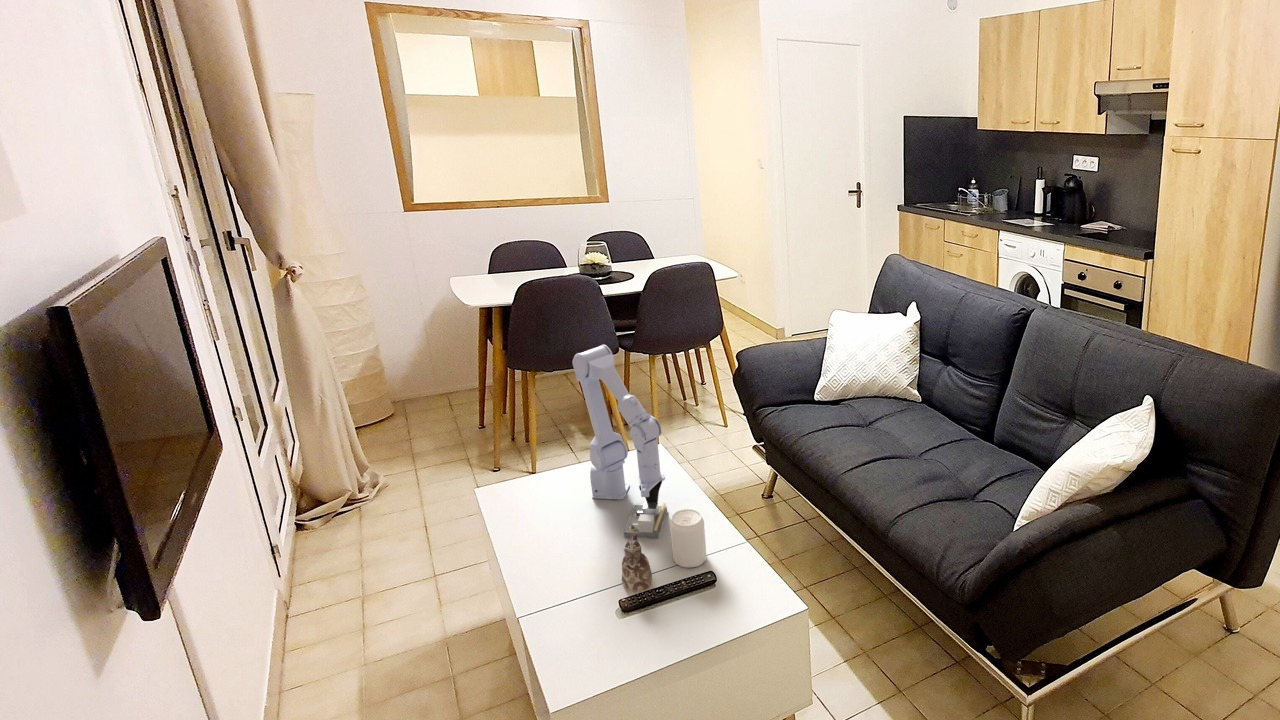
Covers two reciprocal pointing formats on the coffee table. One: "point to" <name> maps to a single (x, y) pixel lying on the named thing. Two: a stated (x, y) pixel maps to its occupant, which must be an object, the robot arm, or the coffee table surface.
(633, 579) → the figurine
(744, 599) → the coffee table surface
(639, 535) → the board
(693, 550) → the beverage can
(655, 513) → the sliding leg
